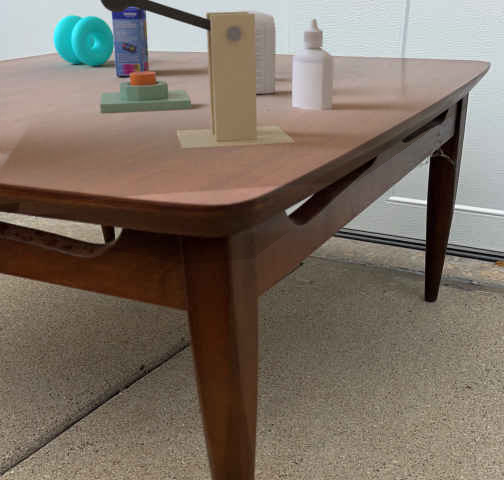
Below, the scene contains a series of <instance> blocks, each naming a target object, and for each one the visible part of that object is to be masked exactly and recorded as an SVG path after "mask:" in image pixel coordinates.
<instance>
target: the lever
mask: <svg viewBox="0 0 504 480" xmlns="http://www.w3.org/2000/svg"><path fill="white" fill-rule="evenodd" d="M100 2H101V4H102V6H103V7H104V8H105V9H106V10H107V11H109V12H111V13H112V12H122V11H124V10H126V9H127V8H128V7H129V5H130V6H134V7H137V8H140V9H143V10H146V12H150V13H153V14H156V15H159V16H162V17H166V18H168V19H172V20H174V21H178V22H181V23H184V24H188V25H190V26H193V27H197V28H200V29H203V30H206V31H207V30H209V31H211V21H210V20H209V19H206V17H202V16H200V15H196V14H193V13H191V12H187V11H184V10H181V9H178V8H175V7H172V6H169V5H166V4H163V3H159V2H156V1H153V0H100Z"/></svg>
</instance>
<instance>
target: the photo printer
mask: <svg viewBox="0 0 504 480" xmlns="http://www.w3.org/2000/svg"><path fill="white" fill-rule="evenodd" d="M231 12H248V13H253V14H255V59H256V95H273V94H275V92H276V42H277V41H276V40H277V39H276V38H277V37H276V22H275V18H274V16H273V15H271V14H267V13H264V12H261V11H255V10H233V11H231Z"/></svg>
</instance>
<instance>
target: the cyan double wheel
mask: <svg viewBox="0 0 504 480" xmlns="http://www.w3.org/2000/svg"><path fill="white" fill-rule="evenodd" d="M53 45H54V48H55V50H56V52H57V54H58V56H59V57H60V58H61V59H63V60H64V61H65V62H67V63H69V64H72V65H80V64H84V65H87V66H90V67H98V66H102V65H103V64H106V63H107V62H108V61H109V59H110V58H111V56H112V54H113V53H114V39H113V30H112V29H111V27H110V26H109V24H108V23H107V22H106V21H105V20H104V19H102V18H100V17H98V16H95V15H87V16H84V17H82V16H79V15H75V14H74V15H73V14H72V15H71V14H70V15H67V16H64V17H63V18H61V19H60V20H59V21H58V22H57V24H56V25H55V28H54V31H53Z"/></svg>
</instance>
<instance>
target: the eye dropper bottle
mask: <svg viewBox="0 0 504 480" xmlns="http://www.w3.org/2000/svg"><path fill="white" fill-rule="evenodd" d="M323 32H324V31H323V30H322V29H320V28H319V27H318V22H317V18H311V19H310V21H309V26H308V28H307V29H306V30H304V31H303V49H302V50H299V51H297V52H295V54H294V55H293V57H292V71H291V72H292V73H291V76H292V77H291V78H292V79H291V81H292V82H291V83H292V84H291V106H292V107H294V108H297V109H304V110H311V111H326V110H332V109H333V97H334V94H333V92H334V58H333V55H332V54H330V53H329V52H328V51H326V50H324V49H323V45H324V44H323V43H324V42H323V41H324V39H323V38H324V36H323V35H324V33H323Z"/></svg>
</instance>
